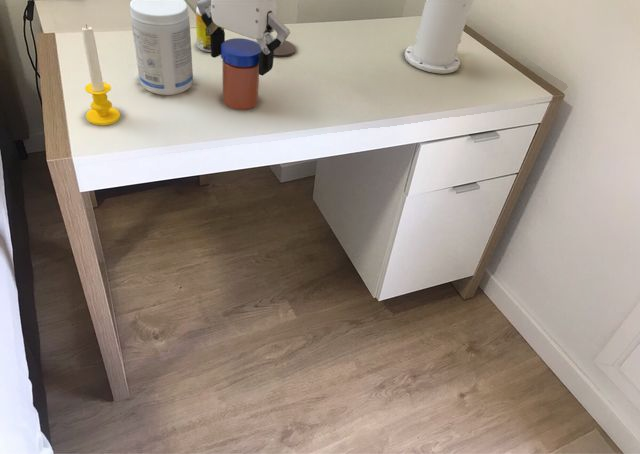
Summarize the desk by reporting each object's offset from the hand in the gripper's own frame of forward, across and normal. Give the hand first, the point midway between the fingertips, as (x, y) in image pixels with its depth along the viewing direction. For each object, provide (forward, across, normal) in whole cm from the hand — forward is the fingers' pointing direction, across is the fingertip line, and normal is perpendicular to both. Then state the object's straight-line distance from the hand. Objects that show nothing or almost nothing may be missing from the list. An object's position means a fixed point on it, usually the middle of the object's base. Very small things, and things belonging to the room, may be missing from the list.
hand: (241, 63), depth 89 cm
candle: (+7, +14, +19) cm, 25 cm away
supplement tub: (+7, +14, +4) cm, 16 cm away
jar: (+7, 0, 0) cm, 7 cm away
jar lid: (-3, 0, 0) cm, 3 cm away
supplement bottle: (+7, +17, -14) cm, 23 cm away
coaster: (+7, +6, -23) cm, 25 cm away
